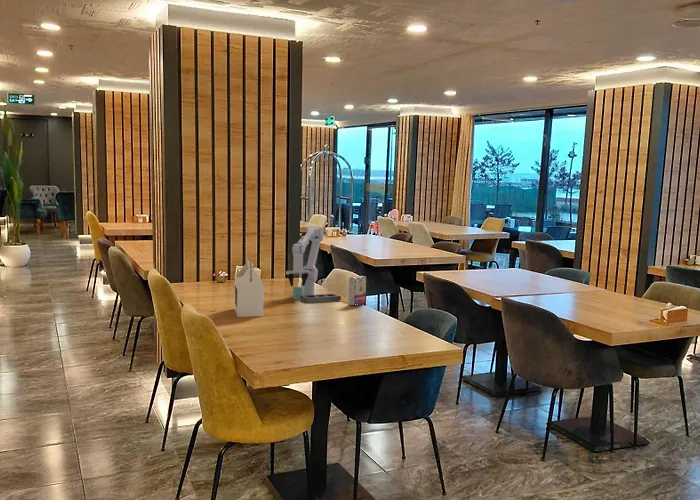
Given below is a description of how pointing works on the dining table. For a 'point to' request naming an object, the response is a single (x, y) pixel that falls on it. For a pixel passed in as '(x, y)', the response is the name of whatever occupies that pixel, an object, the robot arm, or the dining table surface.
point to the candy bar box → (357, 290)
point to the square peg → (297, 292)
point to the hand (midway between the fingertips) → (297, 285)
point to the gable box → (248, 292)
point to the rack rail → (320, 298)
